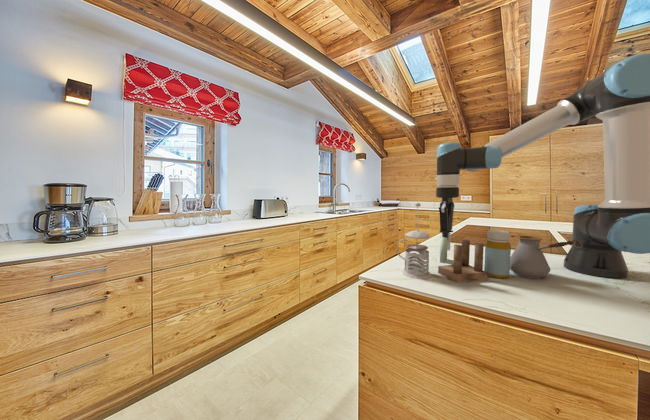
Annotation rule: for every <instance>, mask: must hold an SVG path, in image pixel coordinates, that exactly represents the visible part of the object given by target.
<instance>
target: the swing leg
mask: <svg viewBox="0 0 650 420" xmlns="http://www.w3.org/2000/svg"><path fill="white" fill-rule="evenodd" d="M447 242H448V238H445V237H442V236H441V237H440V239H439V263H441V264H445V265H453V263H454V259H448V250H447Z"/></svg>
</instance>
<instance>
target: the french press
mask: <svg viewBox="0 0 650 420" xmlns="http://www.w3.org/2000/svg"><path fill="white" fill-rule="evenodd" d="M421 206H422V205H421V203H420V202H416V203H414V207H416V208H417V209H416V230H411V231H408V232H407V233H405V234H404V236H405V237H406V238H405V237H403V238H401V239H400V240H398V242H397V244H396V245H397V246H396V250H397V251H396V252H397V253H396V254H397V255H398V256H399V257H400V258H401V259H403V260H404V269H403V270H402V271H401V273H403V274H402V275H404V276H405V277H408V278H411V279H416V280H424V279H429V278H432V274H431V272H430V271H429V268H430V267H429V266H430V265H429V263H430V262H429V260H430V252H429V250H428V248H429V247H428V246H427V245H425V244H418V243H415V244H412V243H411V244H406V246H405V247H406V249H405V254H404V256H405V257H404V256H402V255H401V254H400V252H399V244H400V243H401V242H402V241H405V242H404V243H407V238H409V239H416V240H418V239H419V240H422V239H424V240H426V239H429V238H430V237H431V235H430V234H428V232H425V231H422V230H418V227H419V221H418V220H419V219H418V217H419V207H421ZM416 252H417V253H416Z"/></svg>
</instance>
